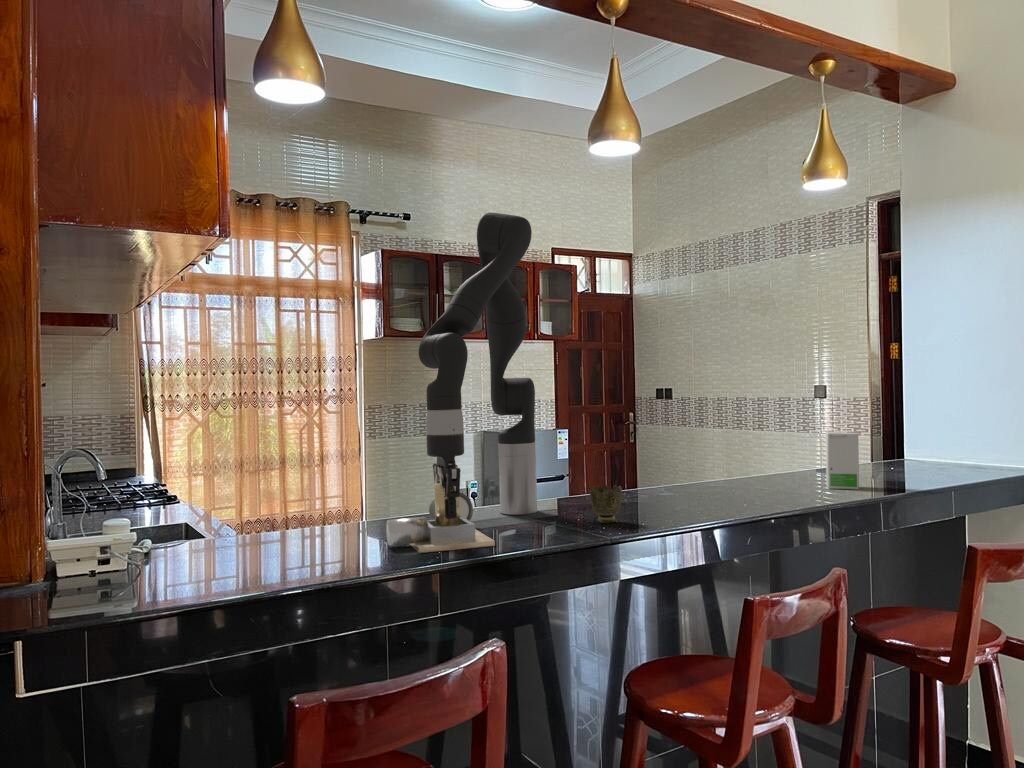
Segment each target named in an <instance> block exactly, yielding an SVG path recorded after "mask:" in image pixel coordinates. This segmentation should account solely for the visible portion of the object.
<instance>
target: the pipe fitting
mask: <svg viewBox="0 0 1024 768" xmlns="http://www.w3.org/2000/svg"><path fill="white" fill-rule="evenodd" d="M428 512H429V513H428V514H429V515H430V518H431V520H435V498H434V499H433V500H431V503H430V504H429V508H428ZM473 514H474V508H473V503H472V500H471V498H470V497H469V496H468V495H467V494H465V493H463V492H460V518H463V517H464V518H465V519H467V520H469V521H470V522H471V519H472V517H473Z"/></svg>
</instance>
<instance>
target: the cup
mask: <svg viewBox="0 0 1024 768" xmlns="http://www.w3.org/2000/svg"><path fill="white" fill-rule="evenodd" d="M588 489H589V490H588V491H589V497H590V503H591V504H590V505H591V509H592V511H593V513H595V514H596V515H598V518H597V519H598V522H600V523H601V524H611V523H614V522H615V520H616V518H615V516H616V515H617V514H618V513H619V512H620V510H621V506H622V498H623V487H622V486H621V485H618V486H617V485H616V484H615V485H613V487H612V488H610V487H609V485H608V484H606V485H601V484H598V486H595V485H593V486H589V488H588Z"/></svg>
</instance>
